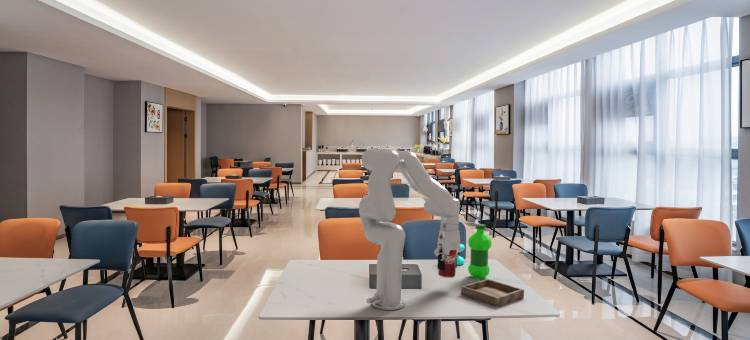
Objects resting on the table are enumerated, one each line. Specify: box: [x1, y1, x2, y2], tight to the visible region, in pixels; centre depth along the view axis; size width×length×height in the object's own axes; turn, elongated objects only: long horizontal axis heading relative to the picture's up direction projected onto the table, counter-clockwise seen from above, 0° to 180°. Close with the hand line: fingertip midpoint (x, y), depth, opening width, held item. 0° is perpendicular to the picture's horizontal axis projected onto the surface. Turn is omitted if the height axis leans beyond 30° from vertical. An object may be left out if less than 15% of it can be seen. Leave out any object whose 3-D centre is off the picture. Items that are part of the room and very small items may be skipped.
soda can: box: [437, 249, 457, 279], centre depth 195 cm, size 7×7×12 cm
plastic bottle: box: [467, 223, 492, 280], centre depth 214 cm, size 10×10×25 cm
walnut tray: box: [460, 278, 525, 308], centre depth 188 cm, size 18×18×4 cm
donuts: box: [457, 243, 465, 266], centre depth 239 cm, size 10×10×10 cm
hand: (447, 268), depth 195 cm, fingers closed on soda can, 7 cm apart
